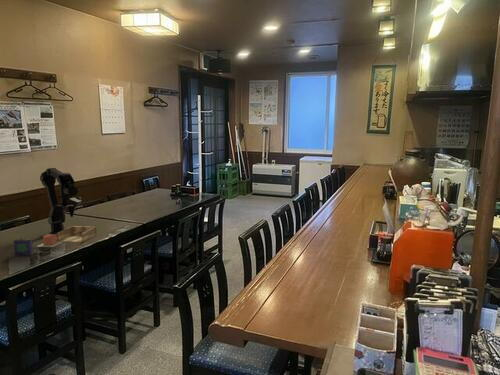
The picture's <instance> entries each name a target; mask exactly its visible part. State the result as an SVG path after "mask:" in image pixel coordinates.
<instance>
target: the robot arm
mask: <svg viewBox="0 0 500 375" xmlns="http://www.w3.org/2000/svg"><path fill="white" fill-rule="evenodd" d="M39 180H40V182H41V185H42V186H43V187H44V188H46V194H47V198H48V202H49V205H50V211H49V217H48V219H47V222H48V225H50V228H51V229H50V232H49V234H56V233H58V232H60V231H62V230H64V229H65V228H64V224H63V223H66V213H65V212H66V211H67V210H68V213H69V216H70V217H71V218H73V217H74V214H75V210H76V208H78V207H79V206H80V205H81V203H83V200H82V197H81V196H79V197H78V196H77V194H78V192H79V191H78V188H77V187H76V186H75V180H74V177H73V176H72V174H71V173H69V172H62V171H60V170H58V169H57V168H56V167H49V168H47V169H46V170H45V171H43V172H42V173H41V174H40V176H39ZM56 182H57V183H58V187H59V191H60V192H59V193H60V195H59V196H58V197H57V192H56V188H55V184H56ZM75 196H77V197H75ZM58 198H59V199H60V202H59V200H58Z"/></svg>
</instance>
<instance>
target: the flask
mask: <svg viewBox="0 0 500 375" xmlns="http://www.w3.org/2000/svg"><path fill="white" fill-rule="evenodd" d="M13 246H14V247H13V249H14V257H31V256H34V248H33V247H34V246H33V239H32V238H25V236H24V235H23V236H20V237H19V238H15V239H13Z"/></svg>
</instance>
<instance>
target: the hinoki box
mask: <svg viewBox="0 0 500 375" xmlns="http://www.w3.org/2000/svg"><path fill="white" fill-rule="evenodd" d="M56 235H57V241H64V242H75V243H77V242H78V243H84V242H86V241H88V240H89V239H91V238H93V237H94V236H96V235H97V227H96V226H84V225H81V226H80V225H79V226H78V225H71V226H68V227H66V228H64V230H62V231H60V232H56Z"/></svg>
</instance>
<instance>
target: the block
mask: <svg viewBox="0 0 500 375" xmlns="http://www.w3.org/2000/svg"><path fill="white" fill-rule="evenodd" d="M57 241H58V238H57V233H47V234H46V235H44V236H42V243H43V245H54V244H56V243H57Z"/></svg>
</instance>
